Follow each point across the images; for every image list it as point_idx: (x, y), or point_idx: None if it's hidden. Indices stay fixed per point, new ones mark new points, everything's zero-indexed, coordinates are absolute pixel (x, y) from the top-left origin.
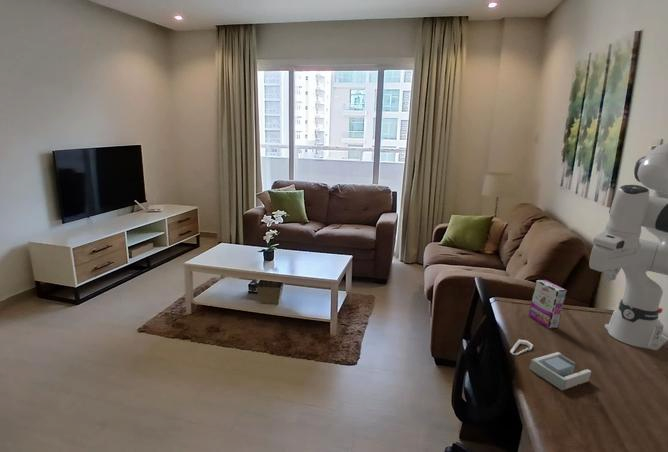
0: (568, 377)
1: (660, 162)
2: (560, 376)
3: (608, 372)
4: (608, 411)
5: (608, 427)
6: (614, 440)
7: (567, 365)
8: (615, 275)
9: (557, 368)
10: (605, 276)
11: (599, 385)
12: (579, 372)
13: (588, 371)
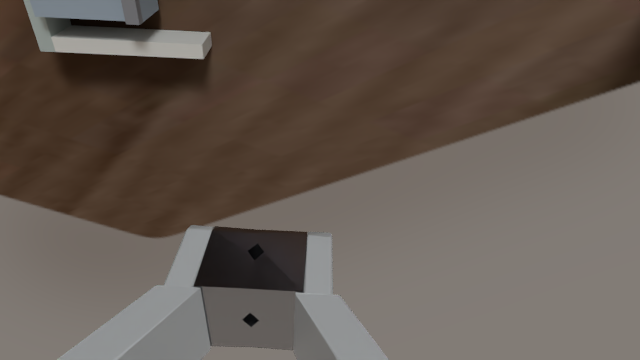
0: (72, 46)
1: None
2: (41, 29)
3: (339, 46)
4: (136, 148)
5: (80, 176)
6: (58, 199)
7: (104, 11)
8: (297, 348)
9: (38, 7)
10: (176, 262)
11: (226, 75)
12: (145, 45)
13: (190, 55)
